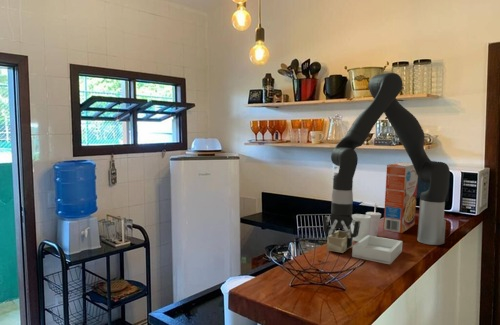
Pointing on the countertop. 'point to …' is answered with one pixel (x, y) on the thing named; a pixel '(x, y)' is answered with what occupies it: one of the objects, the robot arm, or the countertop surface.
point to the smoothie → (374, 222)
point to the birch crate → (338, 241)
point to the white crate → (377, 249)
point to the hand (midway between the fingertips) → (340, 245)
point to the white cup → (361, 226)
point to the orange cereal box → (400, 197)
